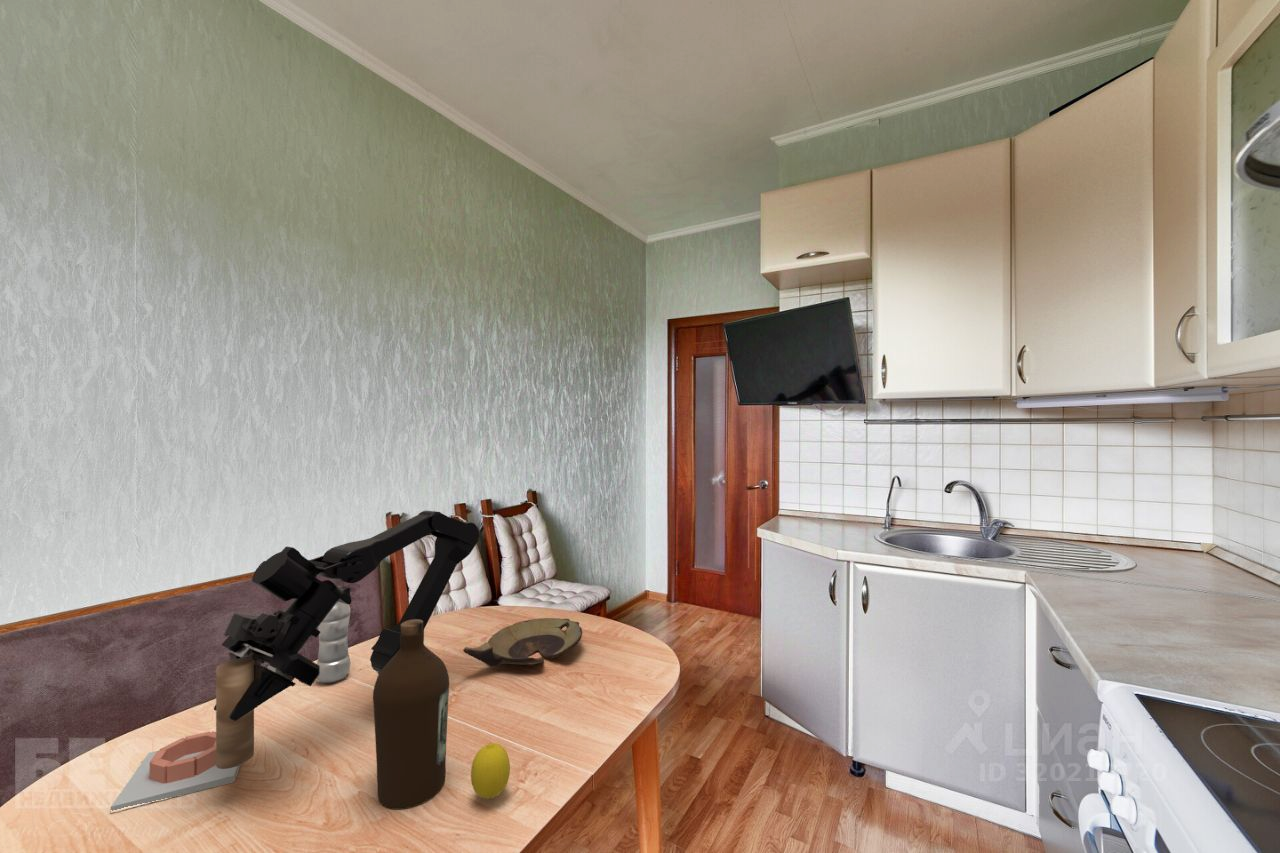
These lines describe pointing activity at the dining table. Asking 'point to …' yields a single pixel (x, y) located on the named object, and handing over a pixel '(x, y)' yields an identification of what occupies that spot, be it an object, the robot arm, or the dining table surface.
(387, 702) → the olive oil
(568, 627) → the oil lamp
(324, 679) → the plastic bottle
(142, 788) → the band dock
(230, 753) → the walnut peg
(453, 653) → the dining table surface
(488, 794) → the lemon
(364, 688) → the dining table surface
